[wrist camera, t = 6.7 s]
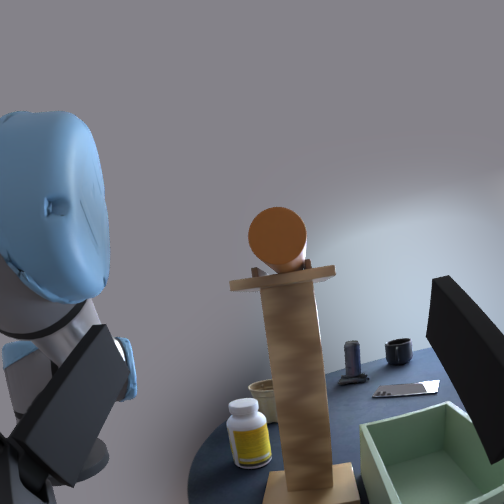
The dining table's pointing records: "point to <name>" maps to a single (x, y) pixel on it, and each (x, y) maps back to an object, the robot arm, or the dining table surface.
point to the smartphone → (406, 389)
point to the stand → (299, 389)
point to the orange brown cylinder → (279, 239)
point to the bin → (428, 460)
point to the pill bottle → (248, 434)
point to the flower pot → (265, 399)
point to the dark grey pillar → (352, 364)
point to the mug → (399, 351)
